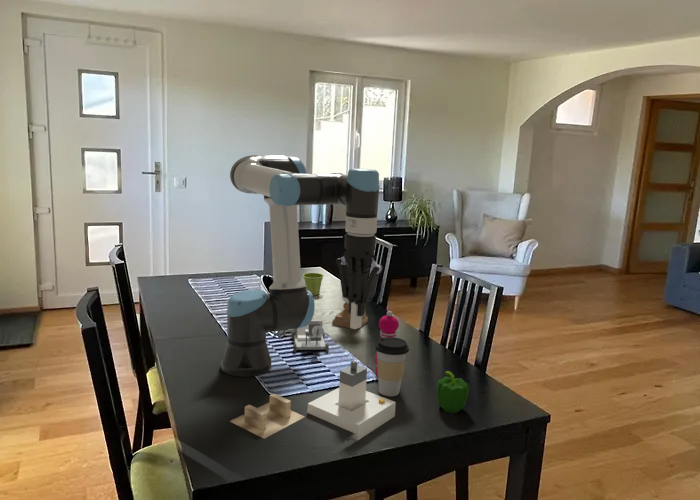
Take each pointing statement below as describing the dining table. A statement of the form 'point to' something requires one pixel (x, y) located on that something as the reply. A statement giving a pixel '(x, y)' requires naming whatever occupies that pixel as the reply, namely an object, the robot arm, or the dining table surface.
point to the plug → (352, 386)
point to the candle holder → (346, 316)
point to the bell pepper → (452, 393)
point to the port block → (353, 413)
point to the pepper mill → (387, 328)
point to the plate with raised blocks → (268, 417)
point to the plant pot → (313, 282)
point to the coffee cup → (390, 364)
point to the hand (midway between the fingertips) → (355, 327)
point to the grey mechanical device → (310, 337)
